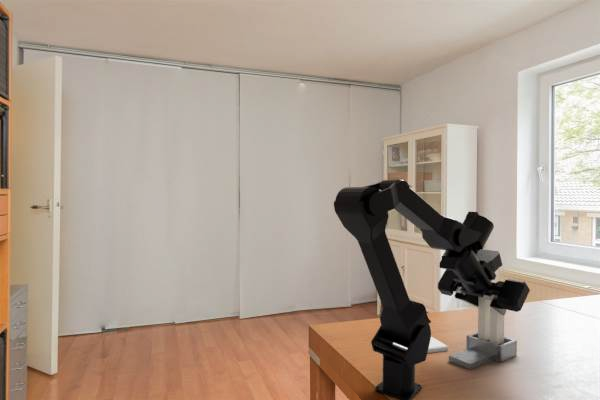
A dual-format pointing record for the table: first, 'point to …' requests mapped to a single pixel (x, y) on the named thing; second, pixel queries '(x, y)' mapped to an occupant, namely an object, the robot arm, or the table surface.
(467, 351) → the grey tray with tab
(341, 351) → the table surface
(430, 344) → the external hard drive
